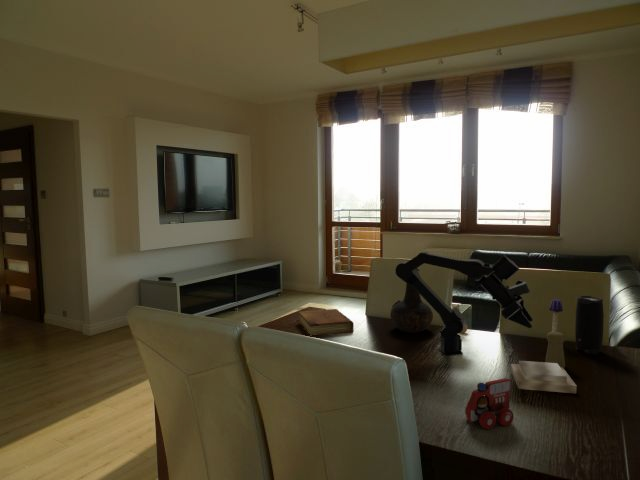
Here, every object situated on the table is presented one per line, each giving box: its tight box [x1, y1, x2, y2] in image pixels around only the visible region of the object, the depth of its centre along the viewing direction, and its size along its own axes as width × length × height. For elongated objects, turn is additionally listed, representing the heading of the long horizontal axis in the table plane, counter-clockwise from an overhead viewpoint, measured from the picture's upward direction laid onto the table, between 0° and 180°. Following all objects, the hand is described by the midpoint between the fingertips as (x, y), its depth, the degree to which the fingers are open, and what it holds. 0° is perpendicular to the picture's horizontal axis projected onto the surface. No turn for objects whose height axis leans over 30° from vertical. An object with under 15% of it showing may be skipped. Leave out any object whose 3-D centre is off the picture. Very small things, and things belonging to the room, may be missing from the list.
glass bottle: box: [389, 268, 434, 334], centre depth 193 cm, size 18×18×28 cm
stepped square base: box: [510, 360, 577, 394], centre depth 136 cm, size 15×15×4 cm
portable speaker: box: [574, 295, 605, 355], centre depth 162 cm, size 9×9×20 cm
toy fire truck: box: [464, 377, 515, 430], centre depth 111 cm, size 7×12×10 cm, turn 109°
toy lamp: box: [547, 298, 564, 343], centre depth 172 cm, size 5×5×17 cm
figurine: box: [452, 304, 468, 334], centre depth 188 cm, size 8×6×12 cm
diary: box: [298, 308, 355, 336], centre depth 200 cm, size 23×19×6 cm
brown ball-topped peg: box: [544, 331, 566, 369], centre depth 149 cm, size 6×6×11 cm
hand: (531, 324), depth 152 cm, fingers open, 9 cm apart
